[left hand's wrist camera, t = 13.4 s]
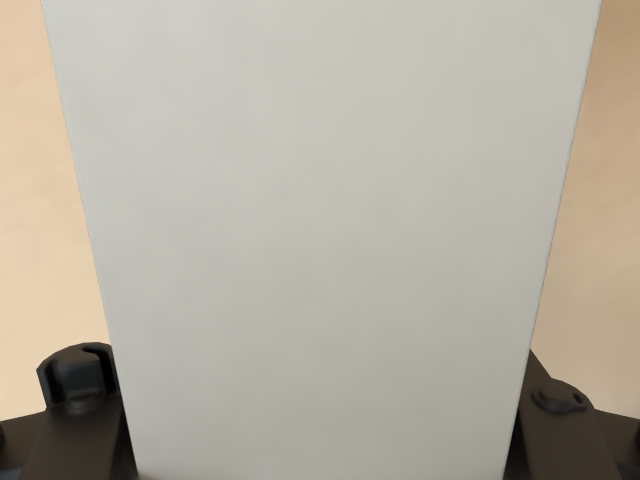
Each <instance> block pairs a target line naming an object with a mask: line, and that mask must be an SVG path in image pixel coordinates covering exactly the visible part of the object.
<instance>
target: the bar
mask: <svg viewBox="0 0 640 480" xmlns="http://www.w3.org/2000/svg"><path fill="white" fill-rule="evenodd" d="M40 2H41V7H42V11H43V16H44V21H45V26H46V31H47V36H48V40H49V45H50V50H51V55H52V60H53V65H54V70H55V74H56V79H57V84H58V89H59V94H60V99H61V103H62V108H63V113H64V118H65V123H66V128H67V132H68V137H69V142H70V147H71V152H72V157H73V161H74V166H75V171H76V176H77V181H78V186H79V191H80V195H81V200H82V205H83V210H84V215H85V220H86V224H87V229H88V234H89V239H90V244H91V249H92V253H93V258H94V263H95V268H96V273H97V278H98V283H99V287H100V292H101V297H102V302H103V307H104V312H105V316H106V321H107V326H108V331H109V336H110V341H111V345H112V350H113V355H114V360H115V365H116V370H117V375H118V379H119V384H120V389H121V394H122V399H123V404H124V408H125V413H126V418H127V423H128V428H129V433H130V437H131V442H132V447H133V452H134V457H135V462H136V467H137V471H138V476H139V480H503V475H504V470H505V466H506V461H507V456H508V451H509V446H510V442H511V437H512V432H513V427H514V422H515V417H516V413H517V408H518V403H519V398H520V393H521V389H522V384H523V379H524V374H525V369H526V365H527V360H528V355H529V350H530V345H531V341H532V336H533V331H534V326H535V321H536V317H537V312H538V307H539V302H540V297H541V293H542V288H543V283H544V278H545V273H546V269H547V264H548V259H549V254H550V249H551V245H552V240H553V235H554V230H555V225H556V220H557V216H558V211H559V206H560V201H561V196H562V192H563V187H564V182H565V177H566V172H567V168H568V163H569V158H570V153H571V148H572V144H573V139H574V134H575V129H576V124H577V120H578V115H579V110H580V105H581V100H582V96H583V91H584V86H585V81H586V76H587V72H588V67H589V62H590V57H591V52H592V47H593V43H594V38H595V33H596V28H597V23H598V19H599V14H600V9H601V4H602V0H40Z"/></svg>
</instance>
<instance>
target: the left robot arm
mask: <svg viewBox="0 0 640 480" xmlns="http://www.w3.org/2000/svg"><path fill="white" fill-rule="evenodd" d="M36 371H37V375H38V378H39V382H40V385H41V389H42V392H43V396H44V399H45V403H46V406H47V407H46V410H45V411H43V412H39V413H36V414H32V415H27V416H23V417H18V418H13V419H9V420H4V421H0V480H139V476H138V471H137V467H136V462H135V457H134V452H133V447H132V442H131V437H130V433H129V428H128V423H127V418H126V413H125V408H124V404H123V399H122V394H121V389H120V384H119V379H118V375H117V370H116V365H115V360H114V355H113V350H112V346H110V345H109V344H104V343H100V342H91V343H81V344H77V345H73V346H69V347H67V348H64V349H62V350H60V351H58V352H55V353H54V354H52V355H51V356H49V357H48V358H46V359H45V360H44V361H43V362H42V363H41V364H40V365H39V367H38V368H37V369H36ZM503 480H640V419H635V418H631V417H626V416H621V415H617V414H612V413H608V412H604V411H600V410H597V409H594V406H593V405H592V403H591V402H590V400H589V399H588V398H587V396H586V395H584V394H583V393H582V392H580V391H579V390H578V389H577V388H575V387H573V386H571V385H569V384H567V383H565V382H563V381H560V380H556V379H553V378H551V377H550V375H549V374H548V373H547V371H546V370H545V369H544V367H543V366H542V364H541V363H540V362H539V360H538V359H537V358H536V356H535V355H534V353H533V352H532V351H531V349H530V350H529V355H528V360H527V365H526V369H525V374H524V379H523V384H522V389H521V393H520V398H519V403H518V408H517V413H516V417H515V422H514V427H513V432H512V437H511V442H510V446H509V451H508V456H507V461H506V466H505V470H504V475H503Z"/></svg>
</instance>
